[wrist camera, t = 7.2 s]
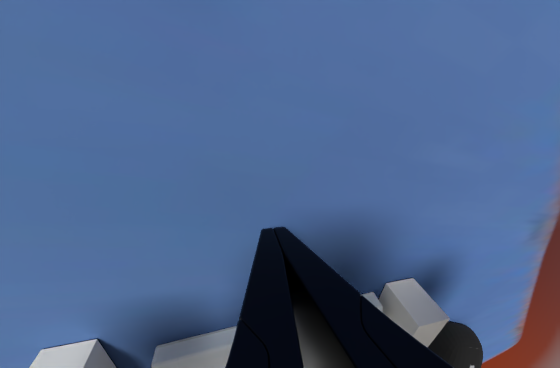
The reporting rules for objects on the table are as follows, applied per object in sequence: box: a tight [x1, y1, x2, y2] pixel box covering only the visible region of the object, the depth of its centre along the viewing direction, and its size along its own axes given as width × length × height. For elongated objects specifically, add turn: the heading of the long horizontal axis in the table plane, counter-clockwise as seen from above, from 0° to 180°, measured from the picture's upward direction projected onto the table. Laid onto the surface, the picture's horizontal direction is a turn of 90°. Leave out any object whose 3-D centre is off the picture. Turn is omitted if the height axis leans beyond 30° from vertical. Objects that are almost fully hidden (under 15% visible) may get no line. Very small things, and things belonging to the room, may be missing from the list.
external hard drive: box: [151, 292, 383, 368], centre depth 13 cm, size 2×8×12 cm
